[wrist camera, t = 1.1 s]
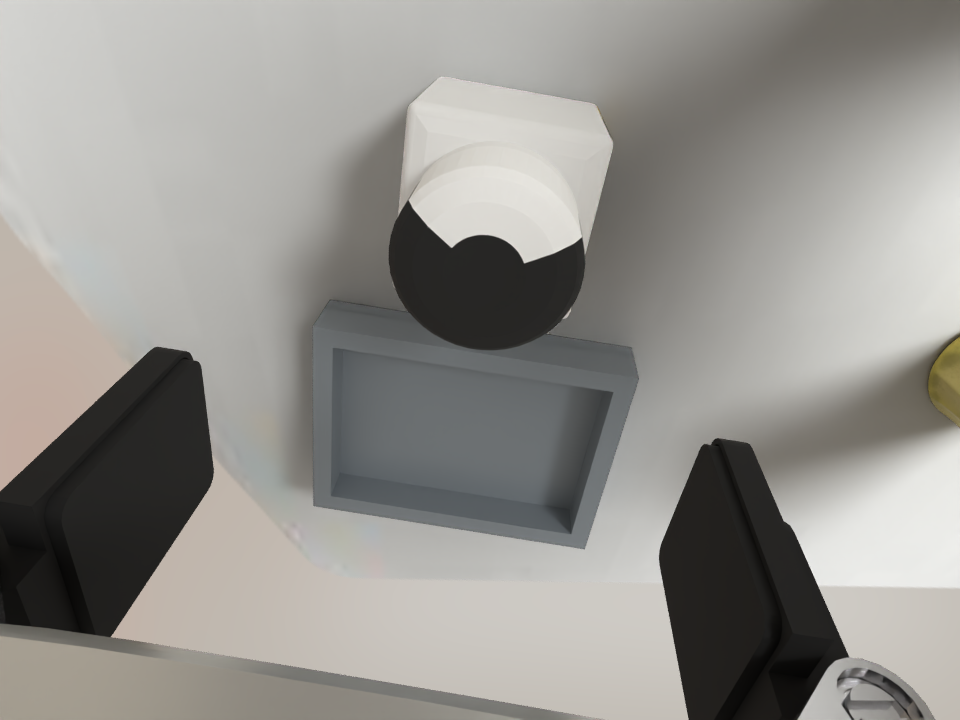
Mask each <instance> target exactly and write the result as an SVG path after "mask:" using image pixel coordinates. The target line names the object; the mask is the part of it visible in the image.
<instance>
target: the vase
mask: <svg viewBox="0 0 960 720" xmlns="http://www.w3.org/2000/svg"><path fill="white" fill-rule="evenodd" d="M928 392H929V396H930V398H931V401H932V403H933V404H934V406H935V407H936V408H937V409H938V410H939V411H940V412H941V413H943V414H944V415H945V416H947V417H948V418H949V419H950V420H952V421H953V422H954V423H955V424H956V425H957V426H958V427H960V337H959V338H957V339H956V340H954V341H953V342H952V343H951V344H950V345H948V346H947V347H946V349H945V350H944V351H943V352H942V353H941V354H940V356H939V357H938V358H937V360H936V361H935V363H934V365H933V366H932V369H931V372H930V375H929V381H928Z"/></svg>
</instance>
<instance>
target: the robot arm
mask: <svg viewBox="0 0 960 720" xmlns="http://www.w3.org/2000/svg"><path fill="white" fill-rule="evenodd" d="M213 473H214V468H213V461H212V451H211V443H210V435H209V427H208V418H207V410H206V402H205V394H204V386H203V377H202V369H201V365H200V363H199V362H198V361H193V358H192V356H191V354H190V353H189V352H187V351H180V350H174V349H168V348H162V347H155V348H153V349H152V350H150V351H149V352H148V353H147V354H146V355H145V356H144V357H143V358H142V359H141V360H140V361H139V362H138V363H137V364H135V365H134V366H133V367H132V368H131V369H130V370H129V371H128V372H127V373H126V374H125V375H124V376H123V377H122V378H121V379H120V380H119V381H117V382H116V383H115V384H114V385H113V386H112V387H111V388H110V389H109V390H108V391H107V392H106V393H105V394H104V395H102V396H101V397H100V398H99V399H98V400H97V401H96V402H95V403H94V404H93V405H92V406H91V407H90V408H89V409H88V410H87V411H85V412H84V413H83V414H82V415H81V416H80V417H79V418H78V419H77V420H76V421H75V422H74V423H73V424H72V425H70V427H69V428H67V429H66V430H65V431H64V432H63V433H62V434H61V435H60V436H59V437H58V438H57V439H56V440H55V441H53V442H52V443H51V444H50V445H49V446H48V447H47V448H46V449H45V450H44V451H43V452H42V453H41V454H40V455H39V456H37V458H35V459H34V460H33V461H32V462H31V463H30V464H29V465H28V466H27V467H26V468H25V469H24V470H23V471H21V472H20V473H19V474H18V475H17V476H16V477H15V478H14V479H13V480H12V481H11V482H10V483H9V484H8V485H7V486H6V487H5V488H4V489H2V490H1V491H0V720H603V719H597V718H591V717H586V716H580V715H574V714H568V713H563V712H557V711H551V710H545V709H540V708H534V707H528V706H522V705H516V704H511V703H505V702H499V701H494V700H488V699H482V698H476V697H471V696H465V695H458V694H452V693H447V692H441V691H435V690H429V689H424V688H418V687H412V686H406V685H399V684H394V683H388V682H382V681H376V680H370V679H364V678H358V677H352V676H346V675H340V674H334V673H328V672H323V671H317V670H310V669H305V668H299V667H293V666H286V665H281V664H274V663H268V662H262V661H256V660H250V659H243V658H237V657H231V656H225V655H219V654H213V653H207V652H200V651H195V650H188V649H182V648H176V647H170V646H164V645H158V644H152V643H145V642H139V641H132V640H125V639H118V638H112V637H111V636H112V634H113V633H114V631H115V630H116V628H117V627H118V625H119V624H120V622H121V621H122V619H123V618H124V616H125V615H126V613H127V612H128V610H129V609H130V607H131V606H132V604H133V602H134V601H135V600H136V598H137V597H138V595H139V594H140V592H141V591H142V589H143V588H144V586H145V585H146V583H147V581H148V580H149V579H150V577H151V576H152V574H153V572H154V571H155V570H156V568H157V567H158V565H159V563H160V562H161V561H162V559H163V557H164V556H165V554H166V553H167V551H168V550H169V548H170V547H171V545H172V544H173V542H174V541H175V539H176V538H177V536H178V535H179V533H180V532H181V530H182V529H183V527H184V526H185V524H186V523H187V521H188V520H189V518H190V517H191V515H192V514H193V512H194V511H195V509H196V508H197V506H198V505H199V503H200V502H201V500H202V499H203V497H204V495H205V494H206V493H207V491H208V489H209V488H210V486H211V483H212V480H213ZM659 563H660V569H661V574H662V580H663V585H664V590H665V595H666V601H667V606H668V612H669V617H670V622H671V628H672V633H673V638H674V644H675V649H676V654H677V660H678V665H679V670H680V675H681V681H682V686H683V692H684V697H685V702H686V708H687V713H688V718H689V720H935V719H934V717H933V715H932V713H931V712H930V710H929V708H928V706H927V705H926V703H925V702H924V701H923V700H922V699H921V697H920V696H919V695H918V694H917V693H916V692H915V691H914V690H913V688H912V687H911V686H909V685H908V684H907V683H906V682H904V681H903V680H902V679H901V678H900V677H898V676H897V675H896V674H894V673H892V672H891V671H889V670H887V669H886V668H884V667H882V666H880V665H878V664H876V663H873V662H870V661H867V660H864V659H859V658H849V656H848V653H847V651H846V649H845V647H844V644H843V642H842V640H841V638H840V635H839V633H838V631H837V628H836V626H835V624H834V621H833V619H832V617H831V615H830V612H829V610H828V608H827V606H826V604H825V601H824V599H823V597H822V594H821V592H820V590H819V587H818V585H817V583H816V581H815V578H814V576H813V574H812V572H811V569H810V567H809V565H808V562H807V560H806V558H805V556H804V553H803V551H802V549H801V547H800V544H799V542H798V540H797V537H796V535H795V533H794V531H793V530H792V528H791V526H790V525H788V524H787V523H786V522H784V521H783V519H782V516H781V514H780V512H779V509H778V507H777V505H776V503H775V500H774V498H773V496H772V493H771V491H770V489H769V486H768V484H767V482H766V479H765V477H764V475H763V472H762V470H761V468H760V465H759V463H758V461H757V458H756V456H755V454H754V451H753V449H752V447H751V446H750V444H748V443H744V442H738V441H732V440H726V439H720V438H717V439H715V440H714V441H713V442H712V444H711V445H708V444H704V445H703V446H702V447H701V449H700V451H699V453H698V456H697V458H696V460H695V463H694V465H693V468H692V470H691V473H690V475H689V478H688V480H687V482H686V485H685V487H684V490H683V492H682V495H681V497H680V499H679V502H678V504H677V507H676V509H675V512H674V514H673V517H672V519H671V521H670V524H669V526H668V529H667V531H666V534H665V536H664V538H663V541H662V544H661V547H660V553H659Z"/></svg>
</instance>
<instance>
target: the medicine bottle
mask: <svg viewBox="0 0 960 720" xmlns="http://www.w3.org/2000/svg"><path fill="white" fill-rule="evenodd" d="M612 150H613V140H612V138H611V136H610V134H609V131H608V129H607V127H606V125H605V122H604V120H603V118H602V116H601V114H600V111H599V109H598V107H597V106H596V105H595V104H593V103H588V102H583V101H577V100H572V99H566V98H561V97H555V96H549V95H544V94H538V93H533V92H527V91H522V90H516V89H511V88H505V87H500V86H494V85H489V84H483V83H477V82H472V81H466V80H461V79H455V78H450V77H439V78H438V79H436V80H435V81H434V82H433V83H432V84H431V85H430V86H429V87H428V88H427V89H426V90H425V91H424V92H423V93H421V94H420V95H419V96H418V97H417V98H416V99H415V100H414V101H413V102H412V103H411V104H410V105H409V107H408V110H407V119H406V130H405V141H404V153H403V164H402V175H401V186H400V198H399V209H398V218H397V220H396V222H395V224H394V228H393V231H392V234H391V238H390V245H389V266H390V273H391V277H392V283H393V287H394V288H395V289H396V291H397V294H398V296H399V298H400V299H401V301H402V303H403V304H404V306H405V308H406V309H407V310H408V311H409V313H410V314H411V315H412V316H413V317H414V318H415V319H416V320H417V321H418V322H419V323H420V324H421V325H422V326H423V327H424V328H426V329H427V330H428V331H430V332H431V333H433V334H434V335H436V336H438V337H440V338H441V339H443V340H445V341H448V342H450V343H453V344H455V345H458V346H462V347H465V348H470V349H477V350H503V349H509V348H514V347H518V346H521V345H524V344H526V343H529V342H531V341H533V340H535V339H537V338H539V337H541V336H543V335H544V334H546V333H547V332H548V331H550V330H551V329H553V328H554V327H555V326H556V325H557V324H558V323H559V322H560V321H561V320H563V319H565V318H567V317H568V316H569V314H570V312H571V308H572V305H573V304H574V302H575V300H576V298H577V296H578V293H579V291H580V289H581V285H582V281H583V277H584V269H585V254H586V250H587V246H588V243H589V239H590V235H591V231H592V227H593V223H594V219H595V215H596V212H597V208H598V204H599V200H600V196H601V192H602V188H603V185H604V181H605V177H606V173H607V169H608V165H609V161H610V157H611V154H612Z"/></svg>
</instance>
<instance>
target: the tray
mask: <svg viewBox="0 0 960 720" xmlns="http://www.w3.org/2000/svg"><path fill="white" fill-rule="evenodd" d="M638 380H639V377H638V372H637V368H636V364H635V360H634V356H633V352H632V348H630V347H623V346H617V345H611V344H605V343H598V342H592V341H586V340H579V339H573V338H567V337H560V336H554V335H548V334H544V335H543V336H541V337H539V338H537V339H535V340H533V341H531V342H529V343H526V344H524V345H521V346H518V347H514V348H509V349H503V350H477V349H470V348H465V347H462V346H458V345H455V344H453V343H450V342H448V341H445V340H443V339H441V338H440V337H438V336H436V335H434V334H433V333H431V332H430V331H428V330H427V329H426V328H424V327H423V326H422V325H421V324H420V323H419V322H418V321H417V320H416V319H415V318H414V317H413V316H412V315H411V314H410V313H409V312H403V311H397V310H390V309H384V308H378V307H371V306H365V305H359V304H352V303H346V302H340V301H334V300H330V301H329V303H328V304H327V306H326V307H325V309H324V310H323V312H322V313H321V315H320V316H319V318H318V319H317V321H316V322H315V324H314V325H313V502H314V506H317V507H323V508H329V509H335V510H342V511H348V512H354V513H360V514H367V515H373V516H379V517H386V518H392V519H398V520H404V521H411V522H417V523H423V524H430V525H436V526H442V527H448V528H455V529H461V530H467V531H473V532H480V533H486V534H492V535H499V536H505V537H511V538H517V539H524V540H530V541H536V542H543V543H549V544H555V545H561V546H568V547H574V548H580V549H585V546H586V543H587V540H588V537H589V534H590V531H591V528H592V524H593V521H594V518H595V515H596V512H597V509H598V506H599V502H600V499H601V496H602V493H603V490H604V487H605V484H606V481H607V477H608V474H609V471H610V468H611V465H612V462H613V459H614V455H615V452H616V449H617V446H618V443H619V440H620V437H621V433H622V430H623V427H624V424H625V421H626V418H627V415H628V411H629V408H630V405H631V402H632V399H633V396H634V393H635V390H636V386H637V383H638Z"/></svg>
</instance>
